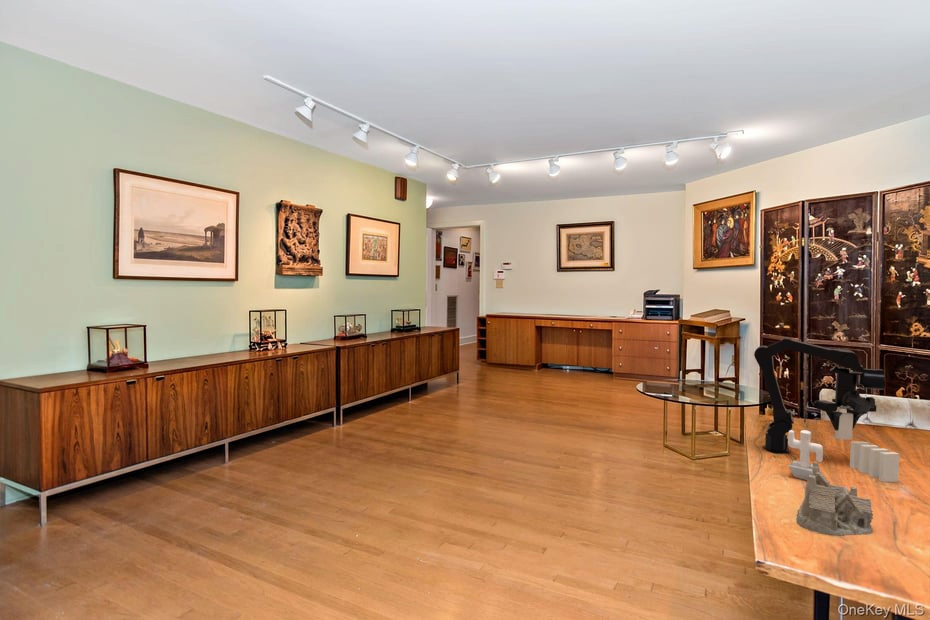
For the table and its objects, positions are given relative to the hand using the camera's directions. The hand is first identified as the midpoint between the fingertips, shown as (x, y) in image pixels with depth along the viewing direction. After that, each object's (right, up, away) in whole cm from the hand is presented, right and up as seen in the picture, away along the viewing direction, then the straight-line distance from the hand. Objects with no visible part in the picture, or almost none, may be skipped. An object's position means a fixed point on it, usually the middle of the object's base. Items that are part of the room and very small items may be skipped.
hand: (843, 430), depth 176 cm
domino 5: (+1, -12, -17) cm, 21 cm away
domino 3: (+1, -12, -10) cm, 15 cm away
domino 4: (+1, -12, -14) cm, 18 cm away
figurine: (-24, -12, -15) cm, 31 cm away
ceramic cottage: (-39, -13, -47) cm, 62 cm away
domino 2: (0, -11, -6) cm, 13 cm away
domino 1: (0, -3, 0) cm, 3 cm away
